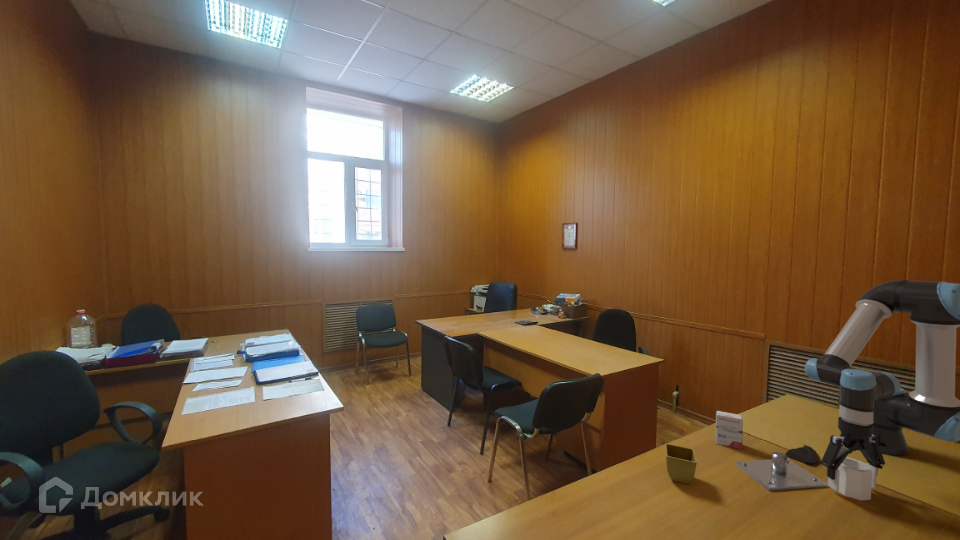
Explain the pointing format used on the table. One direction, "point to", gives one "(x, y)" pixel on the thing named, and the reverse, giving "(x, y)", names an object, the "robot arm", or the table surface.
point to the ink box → (729, 429)
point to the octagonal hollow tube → (855, 479)
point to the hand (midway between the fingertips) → (851, 486)
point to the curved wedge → (803, 455)
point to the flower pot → (680, 463)
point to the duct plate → (780, 481)
